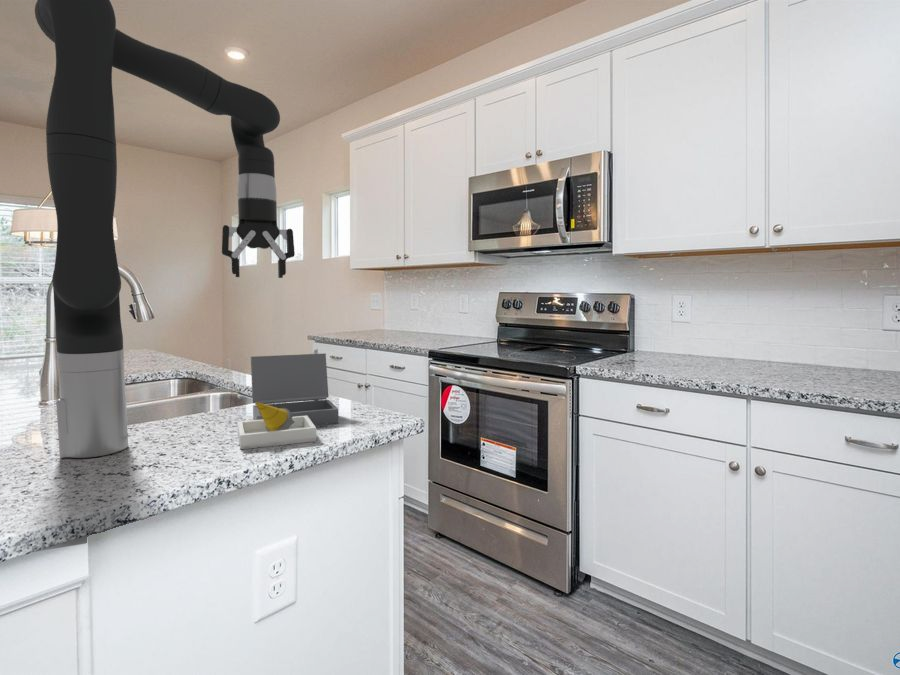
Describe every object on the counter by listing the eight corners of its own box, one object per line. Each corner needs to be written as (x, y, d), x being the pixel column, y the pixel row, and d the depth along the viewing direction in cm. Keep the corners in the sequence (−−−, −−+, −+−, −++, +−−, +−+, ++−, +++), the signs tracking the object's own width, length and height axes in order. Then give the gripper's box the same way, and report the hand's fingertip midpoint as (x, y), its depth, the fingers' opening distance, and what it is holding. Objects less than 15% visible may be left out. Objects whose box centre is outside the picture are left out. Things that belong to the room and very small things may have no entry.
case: (256, 431, 102) (256, 416, 102) (253, 419, 111) (252, 405, 111) (338, 423, 108) (338, 409, 108) (328, 412, 117) (328, 399, 117)
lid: (250, 356, 112) (250, 357, 112) (253, 405, 110) (252, 405, 111) (326, 353, 118) (325, 353, 119) (328, 398, 117) (328, 399, 118)
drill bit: (300, 436, 98) (265, 408, 92) (276, 446, 99) (240, 419, 93) (302, 414, 102) (269, 385, 95) (279, 424, 103) (245, 396, 97)
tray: (240, 449, 90) (240, 435, 90) (237, 434, 99) (237, 421, 99) (316, 441, 96) (316, 427, 96) (307, 427, 105) (307, 415, 105)
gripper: (220, 193, 102) (222, 276, 103) (295, 199, 108) (296, 277, 109) (219, 199, 109) (222, 277, 110) (290, 204, 114) (292, 278, 116)
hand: (259, 277), depth 110 cm, fingers open, 8 cm apart
